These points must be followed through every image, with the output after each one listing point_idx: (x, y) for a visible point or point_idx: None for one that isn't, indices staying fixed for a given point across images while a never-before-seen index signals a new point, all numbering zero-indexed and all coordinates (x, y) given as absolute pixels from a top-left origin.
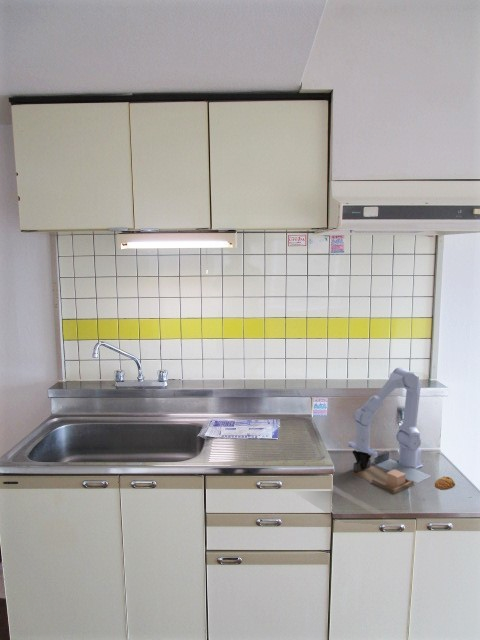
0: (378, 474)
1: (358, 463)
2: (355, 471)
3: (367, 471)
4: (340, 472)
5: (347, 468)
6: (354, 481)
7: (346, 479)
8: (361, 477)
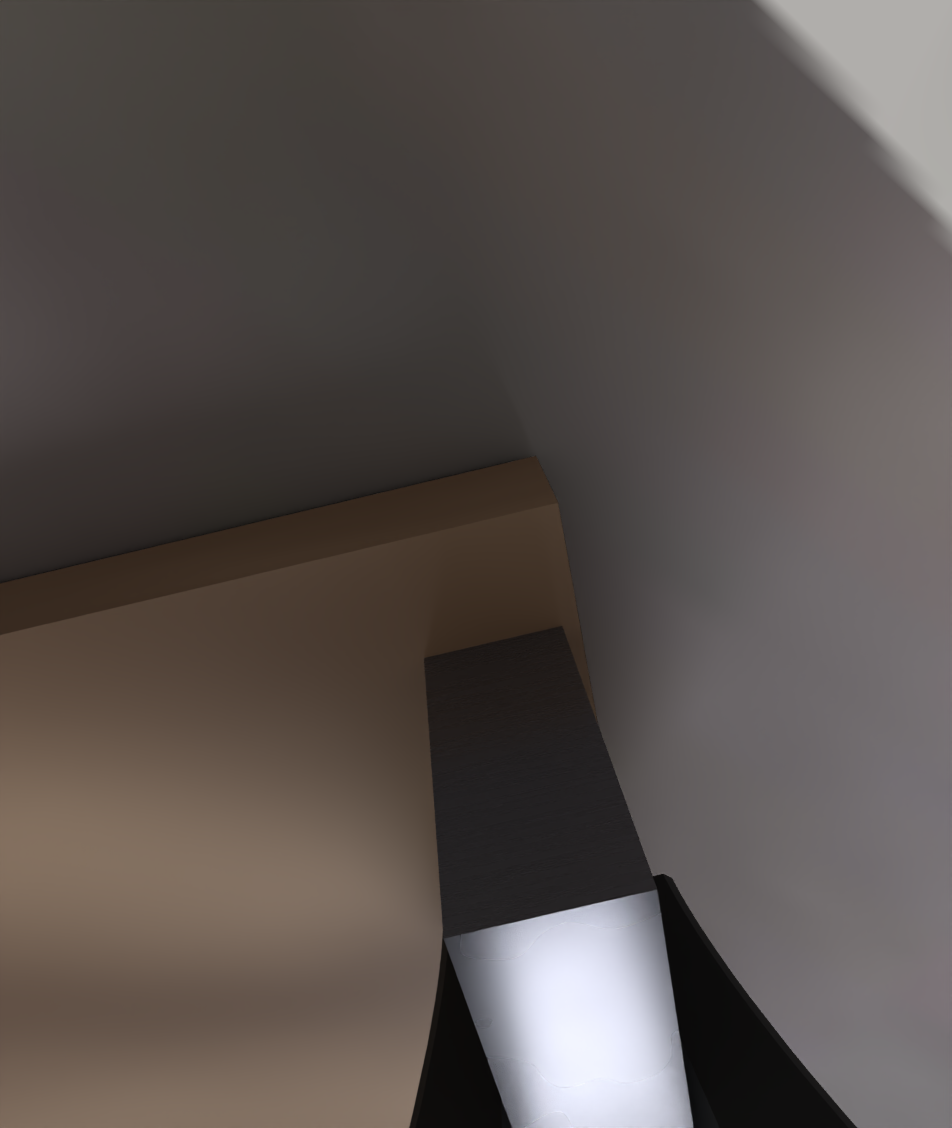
0: (117, 1088)
1: (520, 1052)
2: (471, 670)
3: (374, 959)
4: (904, 249)
5: (945, 622)
6: (86, 321)
7: (331, 105)
8: (19, 632)
